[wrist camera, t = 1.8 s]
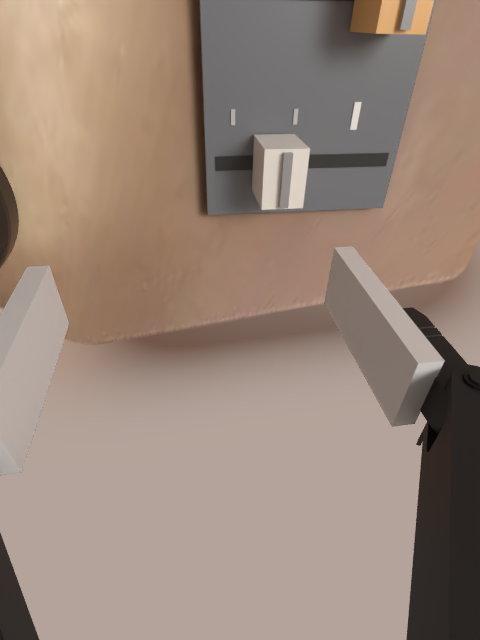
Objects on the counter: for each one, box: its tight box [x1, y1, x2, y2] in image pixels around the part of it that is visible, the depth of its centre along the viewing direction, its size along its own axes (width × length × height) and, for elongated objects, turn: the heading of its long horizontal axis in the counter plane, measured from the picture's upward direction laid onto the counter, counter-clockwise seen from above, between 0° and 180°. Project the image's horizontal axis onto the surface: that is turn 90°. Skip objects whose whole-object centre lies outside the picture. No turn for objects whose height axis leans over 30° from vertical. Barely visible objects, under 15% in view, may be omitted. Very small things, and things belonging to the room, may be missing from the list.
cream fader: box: [252, 134, 310, 210], centre depth 27 cm, size 3×4×4 cm
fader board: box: [199, 0, 436, 215], centre depth 26 cm, size 15×19×1 cm
